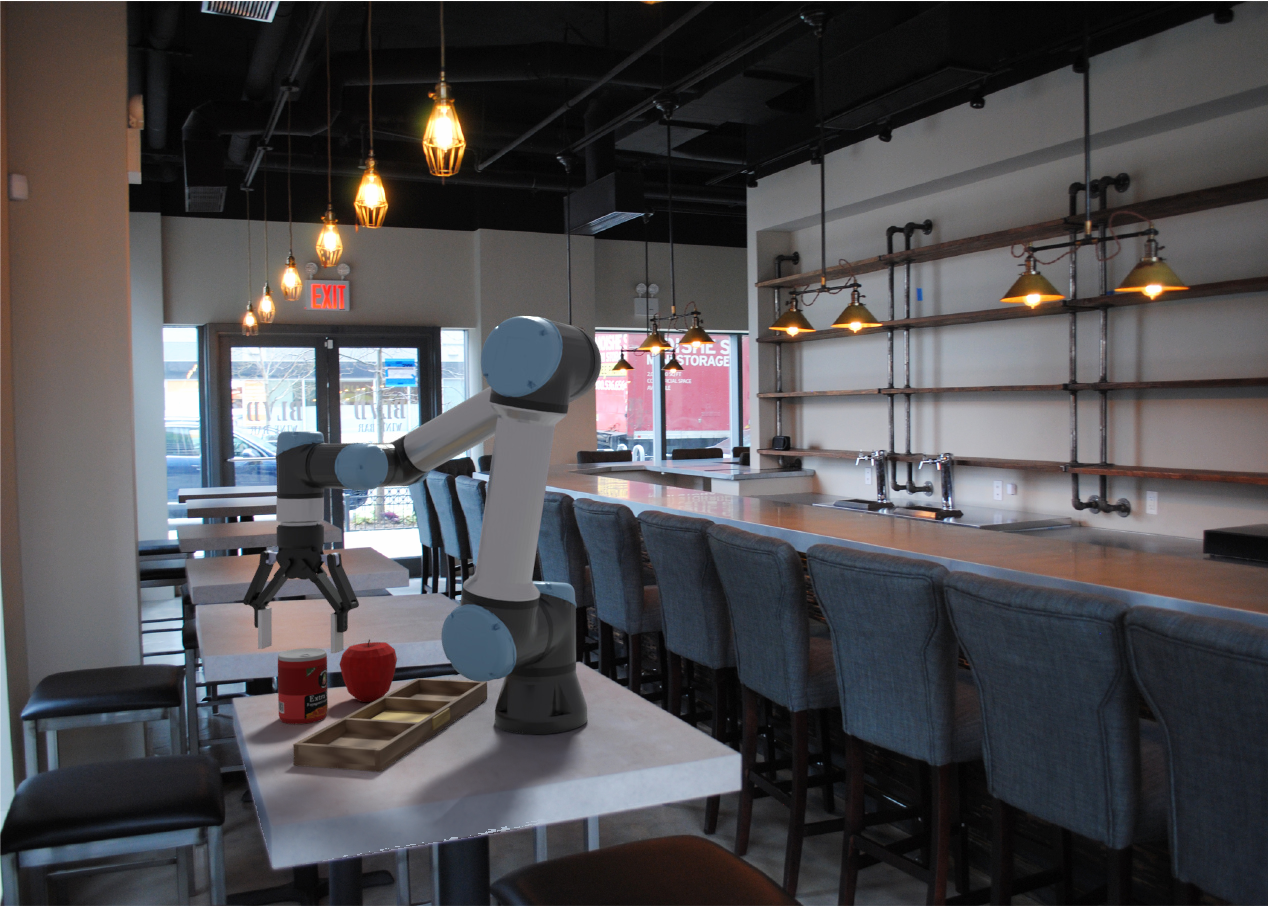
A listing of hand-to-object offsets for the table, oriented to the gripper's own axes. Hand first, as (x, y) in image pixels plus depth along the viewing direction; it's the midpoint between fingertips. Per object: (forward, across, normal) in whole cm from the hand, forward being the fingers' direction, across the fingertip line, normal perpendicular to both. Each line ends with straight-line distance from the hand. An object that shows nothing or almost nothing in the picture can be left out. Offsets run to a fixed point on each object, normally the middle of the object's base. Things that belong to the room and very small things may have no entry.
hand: (300, 649), depth 161 cm
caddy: (+11, -20, +2) cm, 23 cm away
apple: (+12, -6, -13) cm, 18 cm away
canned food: (+12, 0, 0) cm, 12 cm away
